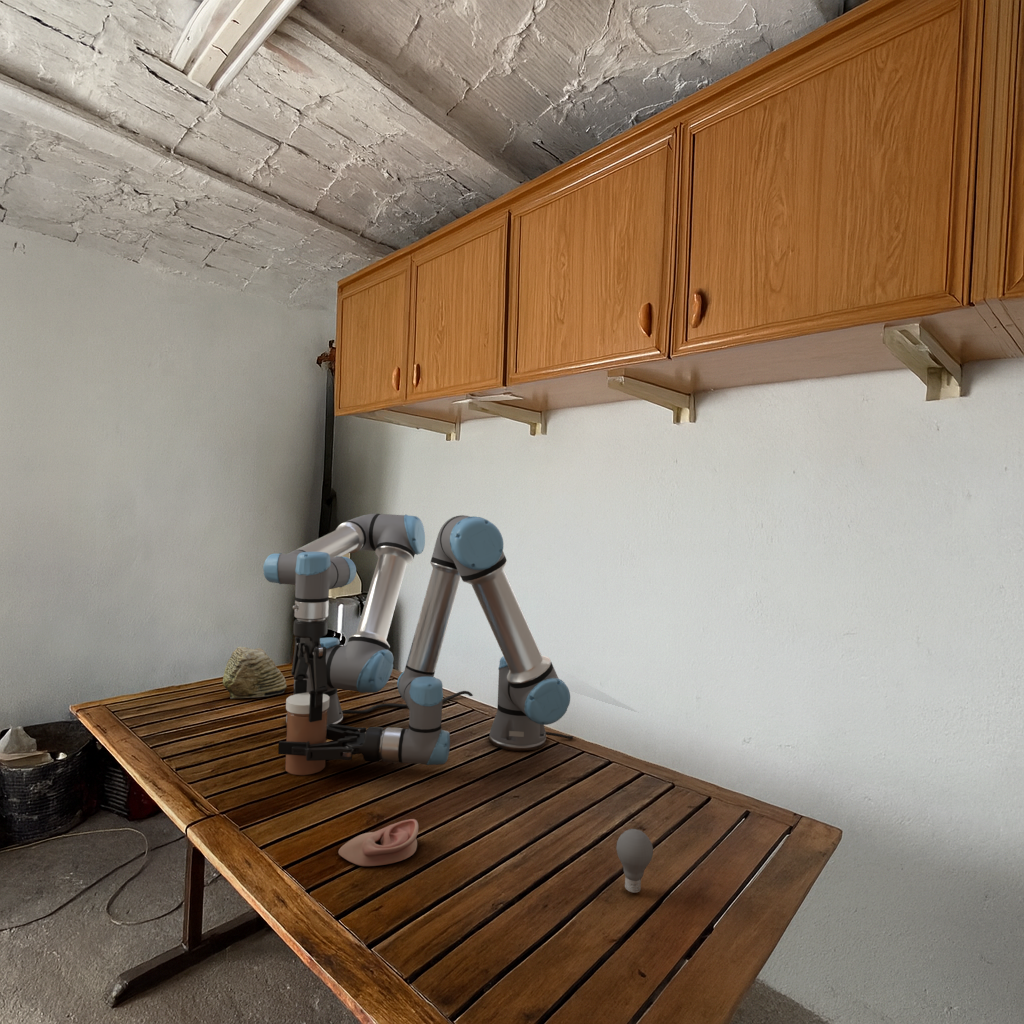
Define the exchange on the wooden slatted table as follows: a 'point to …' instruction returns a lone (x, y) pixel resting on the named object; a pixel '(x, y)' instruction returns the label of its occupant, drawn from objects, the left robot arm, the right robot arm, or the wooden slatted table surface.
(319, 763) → the jar
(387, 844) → the anatomical model
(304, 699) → the lid
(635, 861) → the light bulb
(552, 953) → the wooden slatted table surface
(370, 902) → the wooden slatted table surface
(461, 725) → the wooden slatted table surface
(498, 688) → the right robot arm
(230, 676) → the fossil
